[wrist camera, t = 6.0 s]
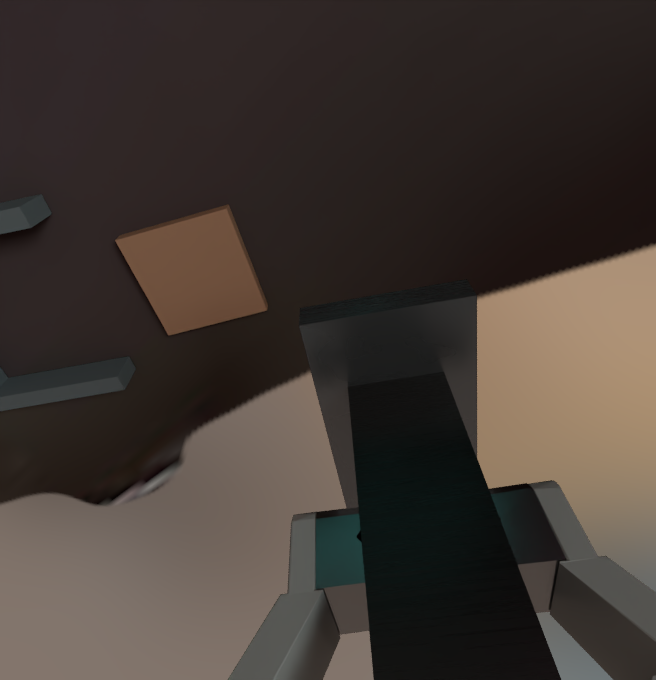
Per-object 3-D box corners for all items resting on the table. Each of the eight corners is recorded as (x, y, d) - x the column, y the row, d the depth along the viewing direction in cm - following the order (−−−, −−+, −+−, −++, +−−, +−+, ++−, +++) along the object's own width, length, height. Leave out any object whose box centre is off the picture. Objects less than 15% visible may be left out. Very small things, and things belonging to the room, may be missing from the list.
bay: (41, 194, 22) (19, 207, 21) (135, 369, 28) (124, 389, 27) (-124, 229, 23) (-159, 244, 21) (2, 392, 29) (-16, 414, 27)
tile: (230, 201, 23) (226, 208, 22) (268, 300, 26) (267, 310, 25) (122, 232, 24) (115, 240, 23) (173, 324, 27) (168, 335, 26)
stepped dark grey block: (466, 279, 11) (702, 657, 4) (469, 473, 14) (593, 826, 8) (300, 308, 11) (277, 700, 4) (346, 490, 15) (369, 842, 8)
